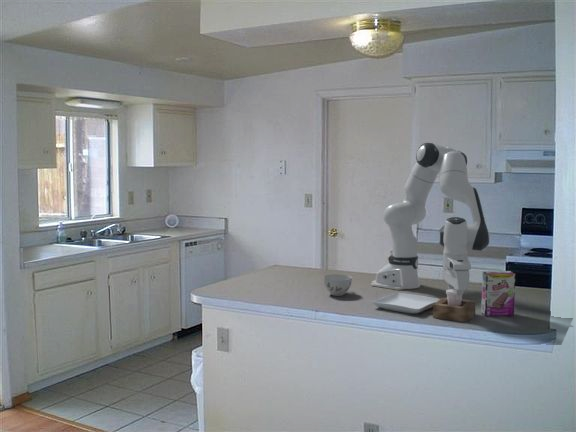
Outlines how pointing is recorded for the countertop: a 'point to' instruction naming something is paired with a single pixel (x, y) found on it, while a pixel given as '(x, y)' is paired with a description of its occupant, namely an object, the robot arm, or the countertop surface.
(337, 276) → the teacup
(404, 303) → the salad plate
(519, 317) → the countertop surface
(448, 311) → the walnut holder
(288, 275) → the countertop surface
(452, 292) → the smoothie
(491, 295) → the candy bar box
